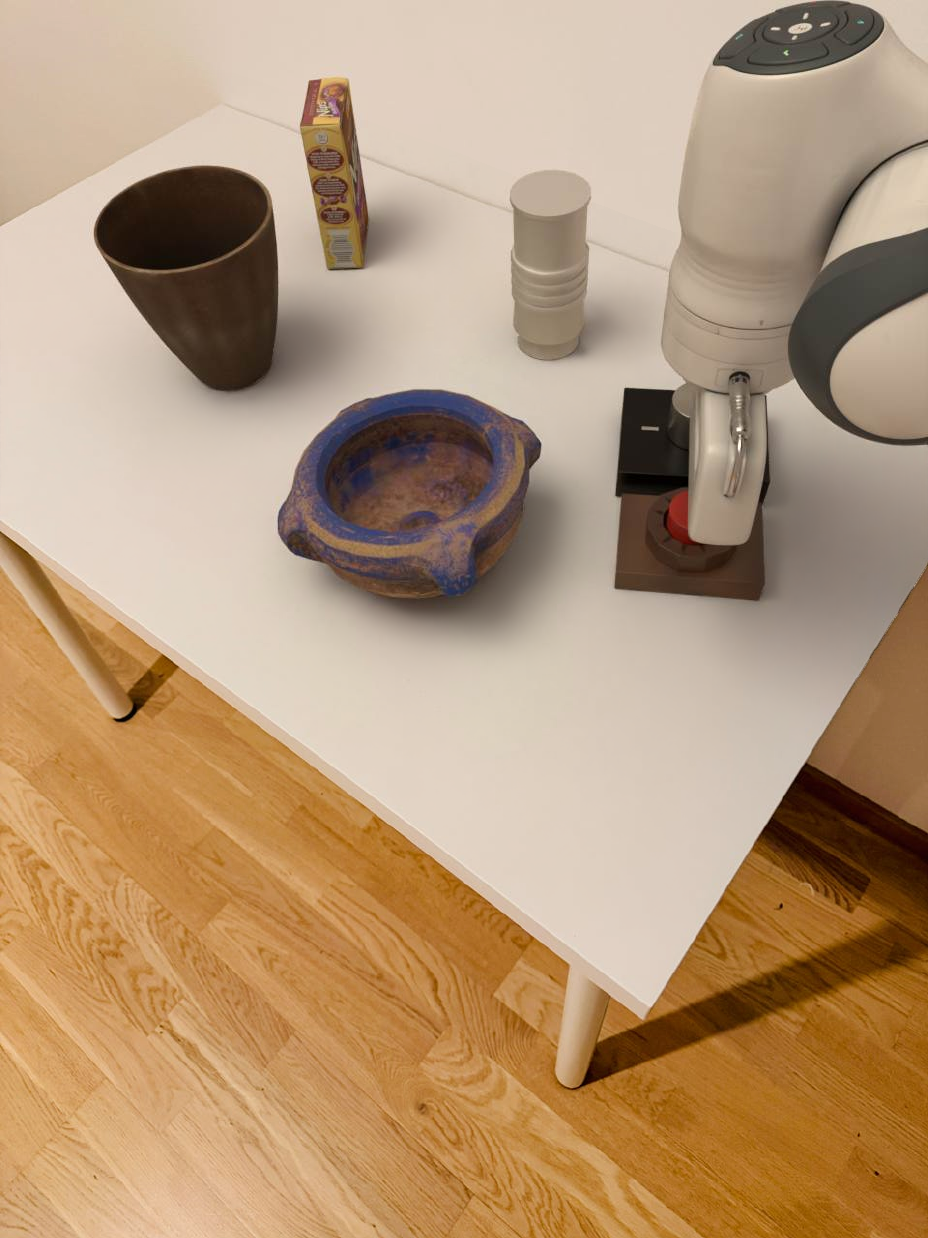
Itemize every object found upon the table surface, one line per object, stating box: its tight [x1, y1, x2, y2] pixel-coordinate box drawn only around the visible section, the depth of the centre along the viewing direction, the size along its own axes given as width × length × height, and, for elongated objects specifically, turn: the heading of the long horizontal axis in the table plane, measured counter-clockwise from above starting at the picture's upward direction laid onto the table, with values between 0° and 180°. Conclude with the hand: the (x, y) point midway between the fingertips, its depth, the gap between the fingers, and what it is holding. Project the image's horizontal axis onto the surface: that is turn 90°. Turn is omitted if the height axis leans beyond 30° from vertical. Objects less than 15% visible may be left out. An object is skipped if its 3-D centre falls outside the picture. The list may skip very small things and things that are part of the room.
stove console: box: [614, 387, 771, 507], centre depth 76 cm, size 12×10×3 cm
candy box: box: [299, 76, 370, 270], centre depth 92 cm, size 9×4×15 cm, turn 179°
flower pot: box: [93, 164, 279, 392], centre depth 82 cm, size 15×15×16 cm
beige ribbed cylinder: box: [509, 169, 592, 361], centre depth 81 cm, size 7×7×15 cm
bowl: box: [277, 388, 542, 599], centre depth 70 cm, size 18×18×10 cm
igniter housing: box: [613, 487, 766, 601], centre depth 70 cm, size 11×8×4 cm
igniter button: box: [667, 491, 704, 545], centre depth 68 cm, size 4×4×2 cm
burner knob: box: [667, 382, 690, 450], centre depth 74 cm, size 4×4×4 cm
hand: (706, 482), depth 65 cm, fingers closed
